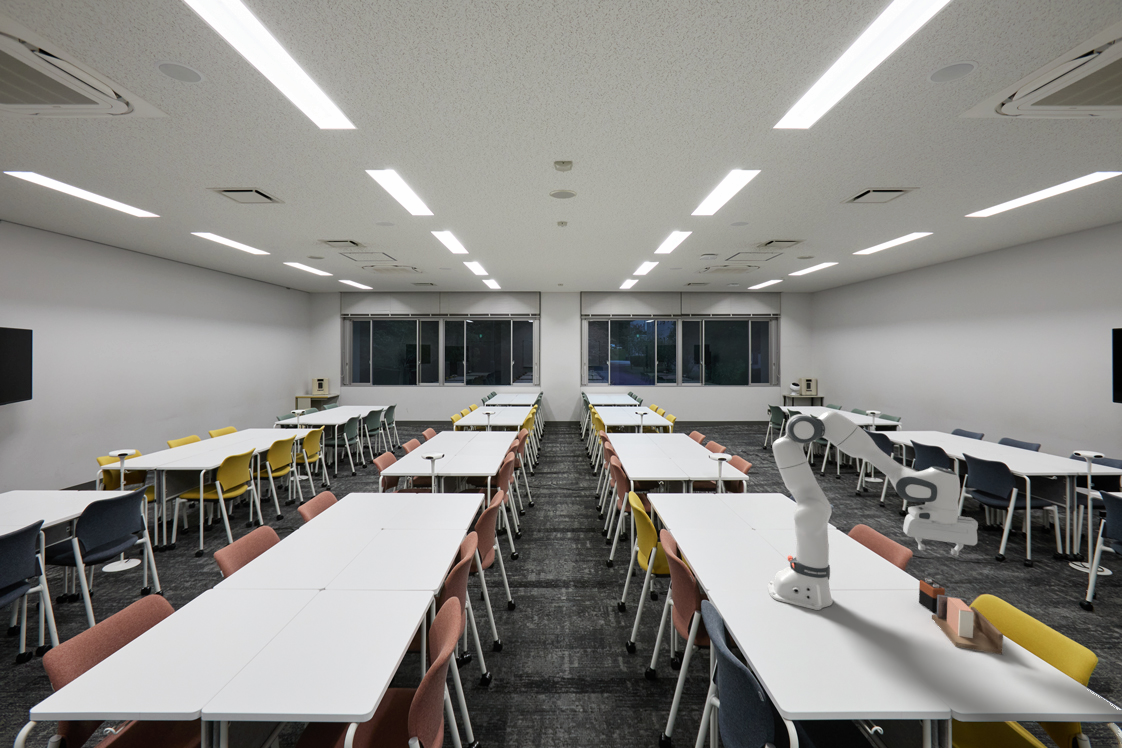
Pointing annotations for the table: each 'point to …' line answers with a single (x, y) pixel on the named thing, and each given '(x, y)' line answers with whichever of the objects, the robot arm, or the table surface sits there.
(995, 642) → the shelf
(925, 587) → the battery
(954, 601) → the rectangular block
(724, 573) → the table surface
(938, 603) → the grey flat square slab
